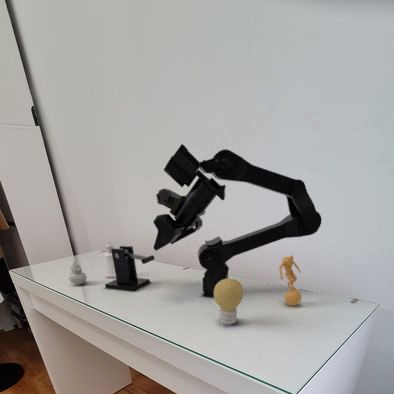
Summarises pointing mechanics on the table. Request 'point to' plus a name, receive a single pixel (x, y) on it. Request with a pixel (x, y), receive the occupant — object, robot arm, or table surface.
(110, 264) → the eye dropper bottle
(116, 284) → the bracket
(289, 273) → the figurine
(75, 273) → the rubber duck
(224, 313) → the light bulb
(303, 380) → the table surface
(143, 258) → the lever
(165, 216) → the robot arm
